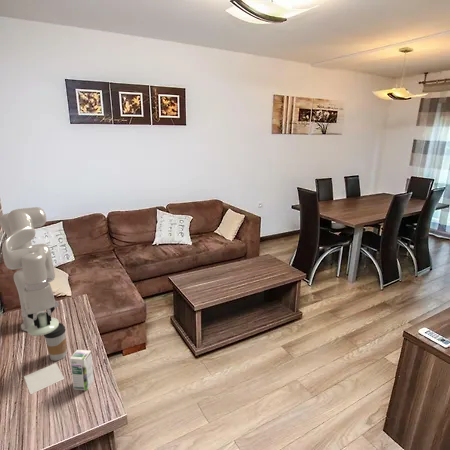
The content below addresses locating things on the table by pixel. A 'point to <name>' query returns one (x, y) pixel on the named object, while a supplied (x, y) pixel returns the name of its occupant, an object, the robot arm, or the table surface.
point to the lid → (43, 325)
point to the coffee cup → (56, 343)
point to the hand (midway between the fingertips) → (43, 324)
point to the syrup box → (82, 369)
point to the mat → (43, 378)
